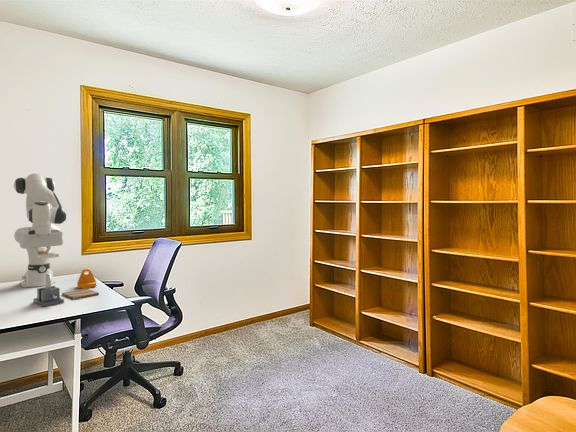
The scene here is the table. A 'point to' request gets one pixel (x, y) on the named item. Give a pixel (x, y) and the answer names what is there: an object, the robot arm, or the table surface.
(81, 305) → the table surface
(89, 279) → the orange rounded piece
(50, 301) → the vise
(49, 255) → the loop
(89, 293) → the board
